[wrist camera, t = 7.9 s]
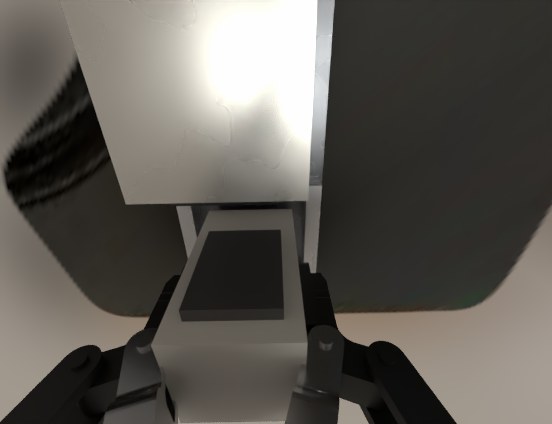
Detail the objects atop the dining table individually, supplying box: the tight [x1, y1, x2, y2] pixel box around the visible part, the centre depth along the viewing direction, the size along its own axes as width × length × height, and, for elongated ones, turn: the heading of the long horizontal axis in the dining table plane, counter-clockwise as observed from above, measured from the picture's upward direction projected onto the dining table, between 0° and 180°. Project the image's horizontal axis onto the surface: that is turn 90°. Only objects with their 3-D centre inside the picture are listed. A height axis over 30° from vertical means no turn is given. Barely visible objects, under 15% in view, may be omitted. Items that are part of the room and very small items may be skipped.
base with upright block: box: [59, 0, 335, 273], centre depth 12 cm, size 16×8×9 cm, turn 1°
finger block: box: [151, 209, 308, 423], centre depth 12 cm, size 4×5×8 cm
